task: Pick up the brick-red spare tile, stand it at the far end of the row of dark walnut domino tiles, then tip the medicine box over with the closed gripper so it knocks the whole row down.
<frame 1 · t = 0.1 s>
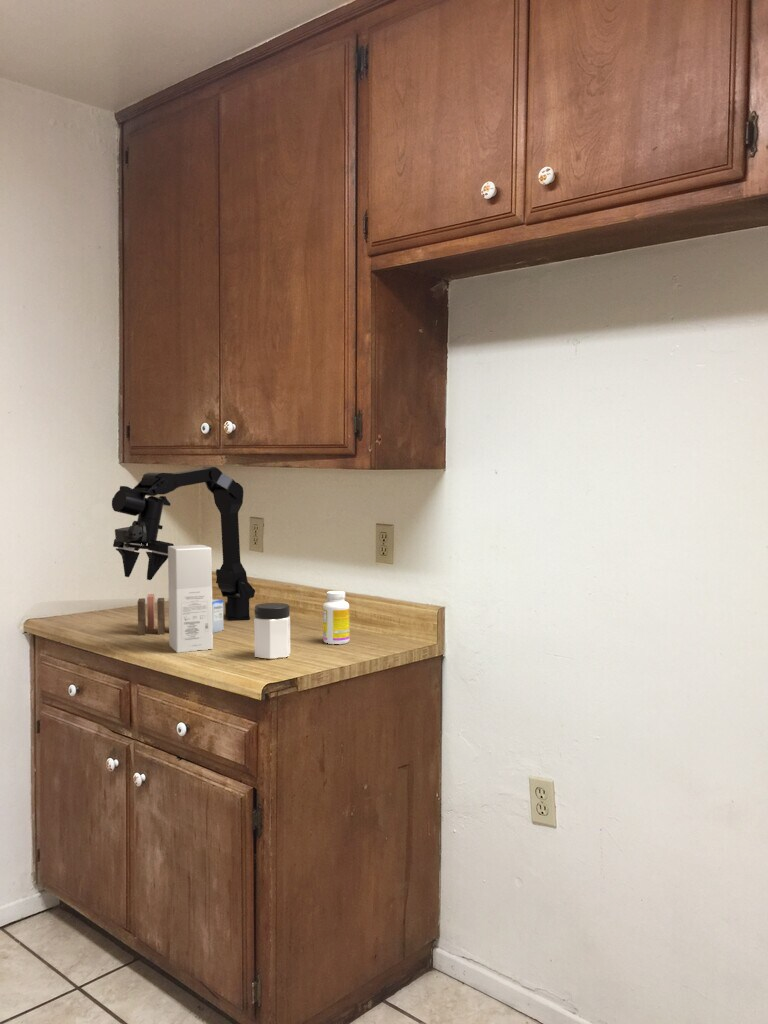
hand: (137, 578, 228), 15 cm above the table, tool pointing down, fingers open, 9 cm apart
medicine box: (207, 631, 237), on the table
supplement bottle: (336, 643, 222), on the table
jar: (272, 656, 207), on the table
spare tile: (151, 628, 241), on the table
tall white carton: (191, 648, 216), on the table
tile 2: (161, 632, 235), on the table
tile 1: (180, 631, 236), on the table
tile 3: (142, 633, 234), on the table
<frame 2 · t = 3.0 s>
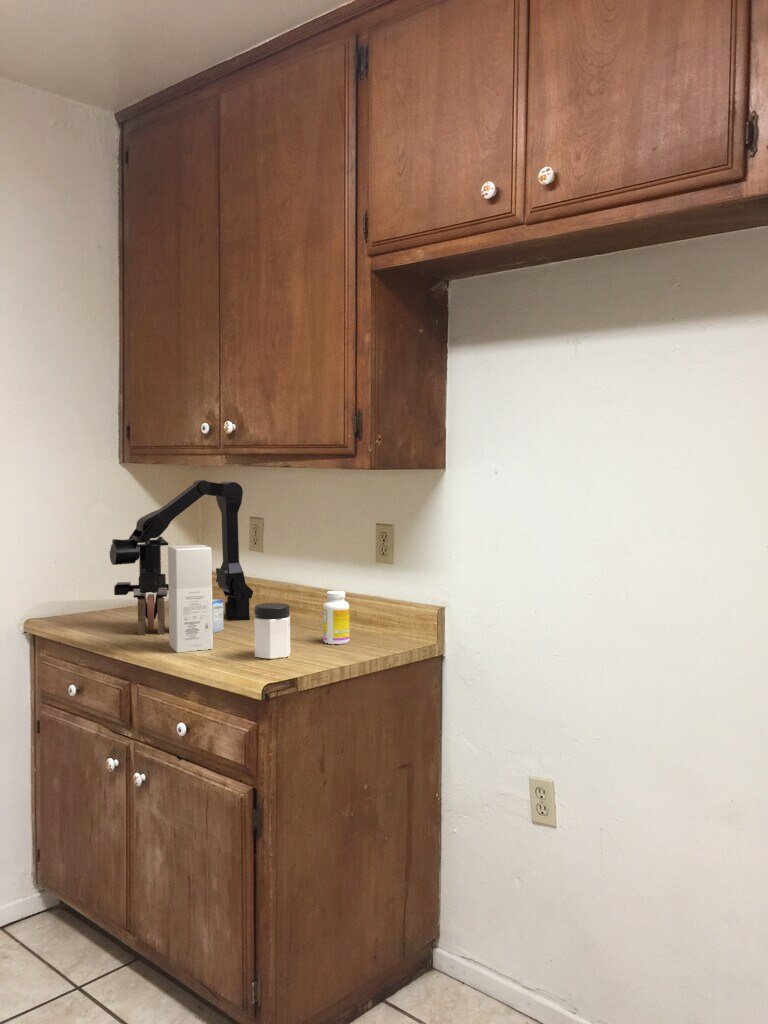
hand: (151, 619, 241), 3 cm above the table, tool pointing down, fingers closed on spare tile, 2 cm apart
spare tile: (151, 628, 241), on the table, touching gripper
everything else where it was.
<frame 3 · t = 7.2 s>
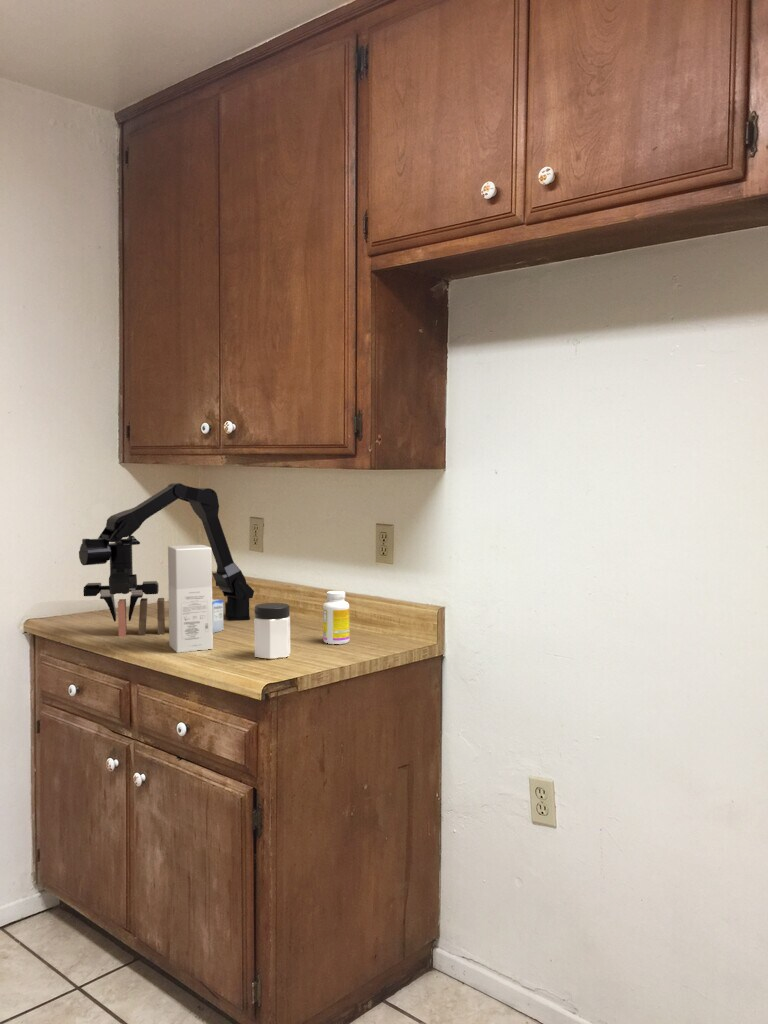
hand: (122, 621, 233), 4 cm above the table, tool pointing down, fingers open, 3 cm apart
spare tile: (122, 634, 233), on the table
tile 3: (142, 633, 234), on the table, touching gripper
everything else where it was.
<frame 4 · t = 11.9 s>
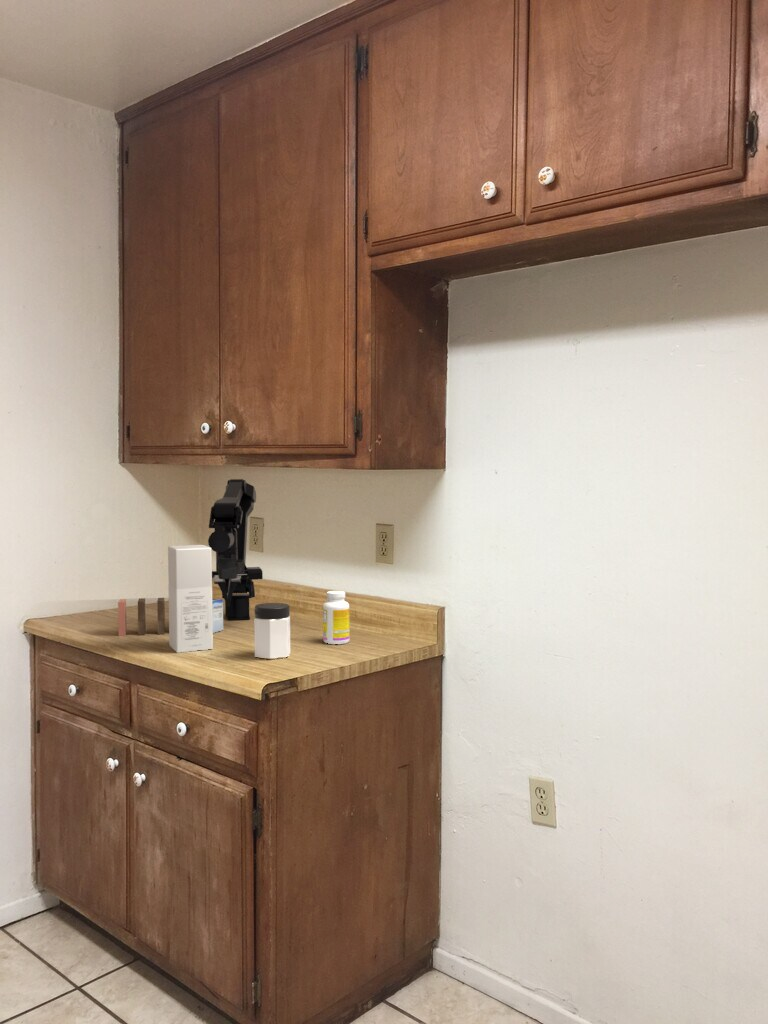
hand: (227, 605, 238), 7 cm above the table, tool pointing down, fingers closed
medicine box: (207, 631, 237), on the table, touching gripper
tile 3: (142, 633, 234), on the table
everything else where it was.
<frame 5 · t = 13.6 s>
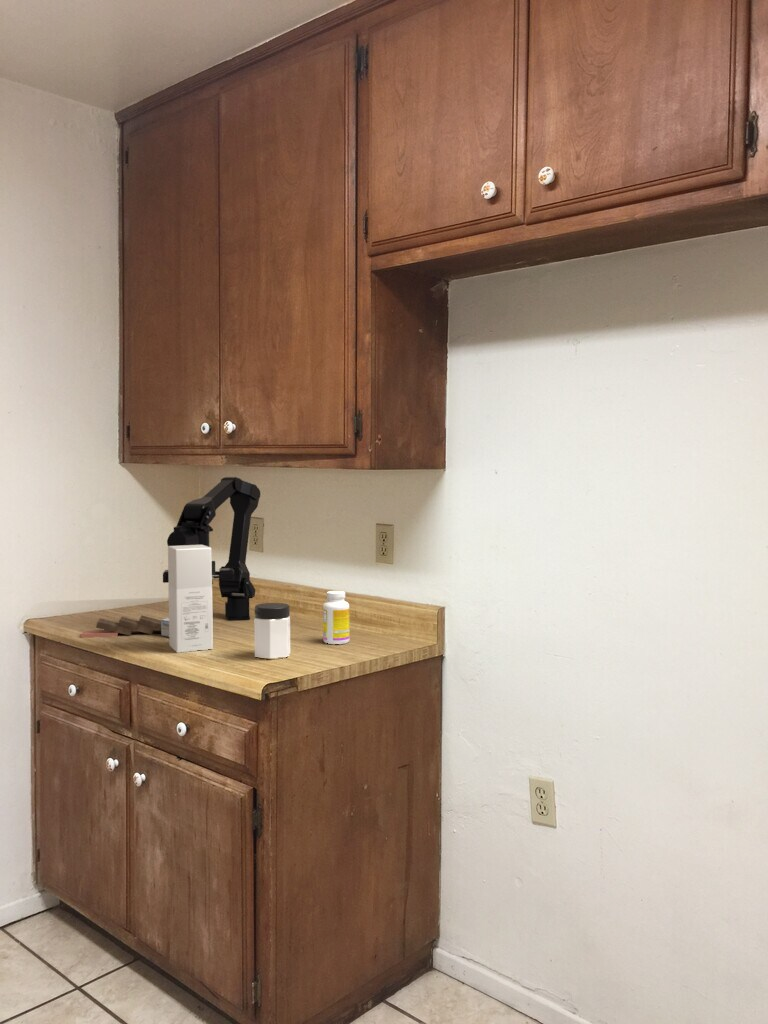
hand: (199, 607, 237), 7 cm above the table, tool pointing down, fingers closed
medicine box: (196, 624, 235), point 2 cm above the table
spare tile: (118, 633, 233), on the table, tilted 90°
tile 2: (153, 629, 235), point 1 cm above the table, tilted 73°, touching tile 1, tile 3
tile 1: (172, 628, 236), point 1 cm above the table, tilted 72°, touching tile 2
tile 3: (132, 630, 234), point 1 cm above the table, tilted 74°, touching tile 2
everything else where it was.
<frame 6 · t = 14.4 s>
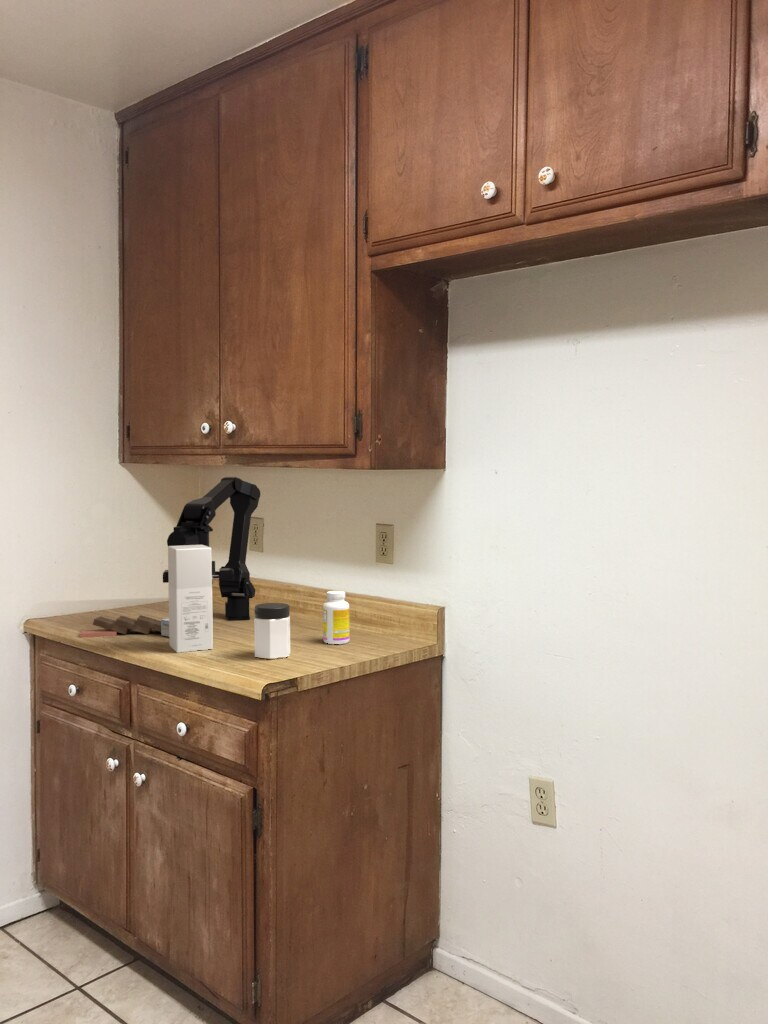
hand: (199, 607, 237), 6 cm above the table, tool pointing down, fingers closed
spare tile: (117, 633, 233), on the table, tilted 90°, touching tile 3
tile 3: (128, 630, 234), point 1 cm above the table, tilted 74°, touching spare tile, tile 2
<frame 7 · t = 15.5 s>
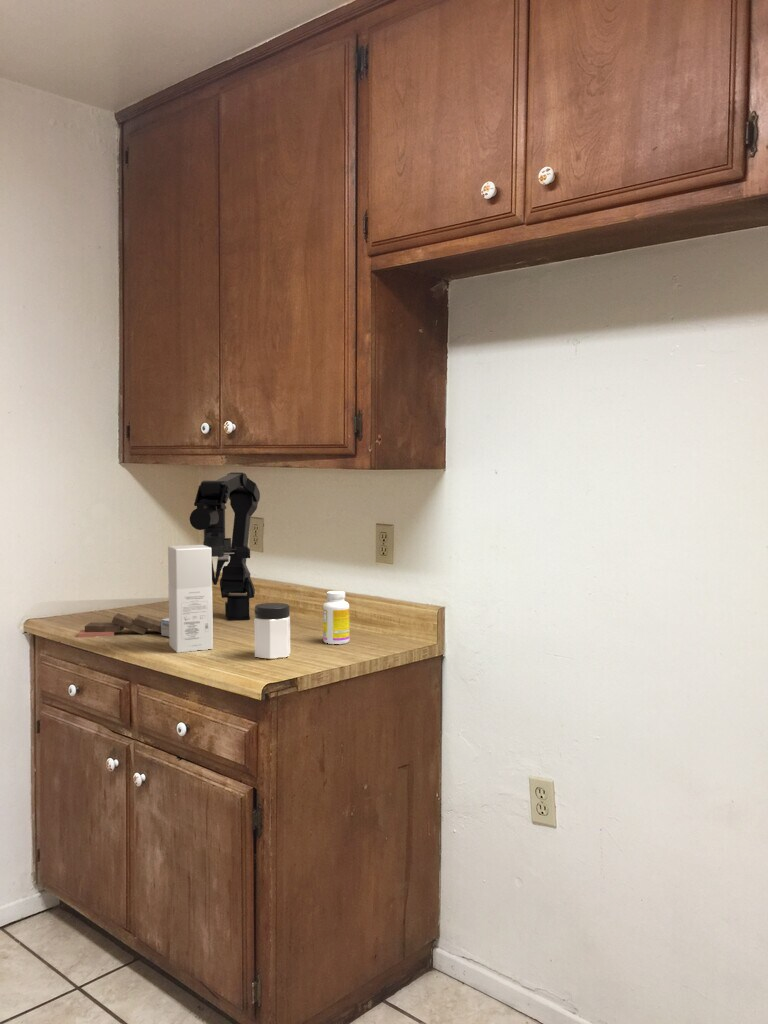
hand: (215, 584, 237), 12 cm above the table, tool pointing down, fingers closed
tile 2: (146, 630, 235), point 1 cm above the table, tilted 67°, touching tile 3
tile 1: (168, 629, 235), point 1 cm above the table, tilted 71°
tile 3: (121, 627, 234), point 2 cm above the table, tilted 90°, touching spare tile, tile 2
everything else where it was.
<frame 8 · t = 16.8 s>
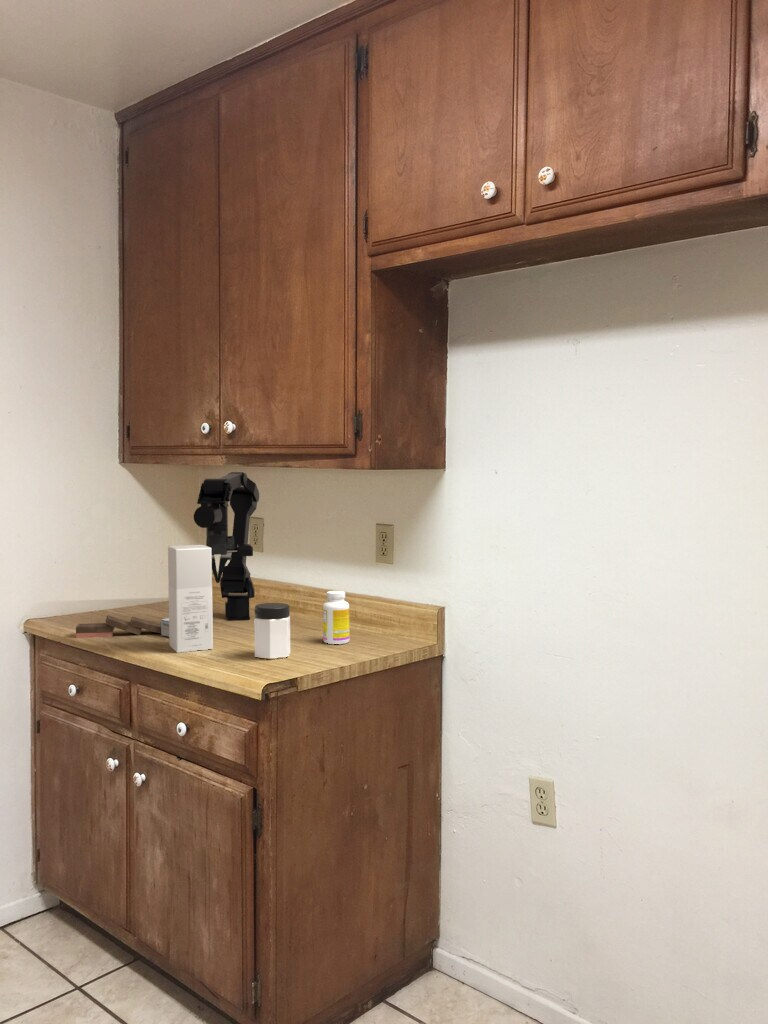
hand: (217, 582, 237), 13 cm above the table, tool pointing down, fingers closed
tile 2: (139, 630, 234), point 1 cm above the table, tilted 68°, touching tile 3
tile 1: (164, 629, 235), point 1 cm above the table, tilted 72°
tile 3: (113, 627, 232), point 2 cm above the table, tilted 90°, touching spare tile, tile 2
at the end: spare tile tilted 90°; tile 3 tilted 90°; medicine box tilted 90° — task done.
